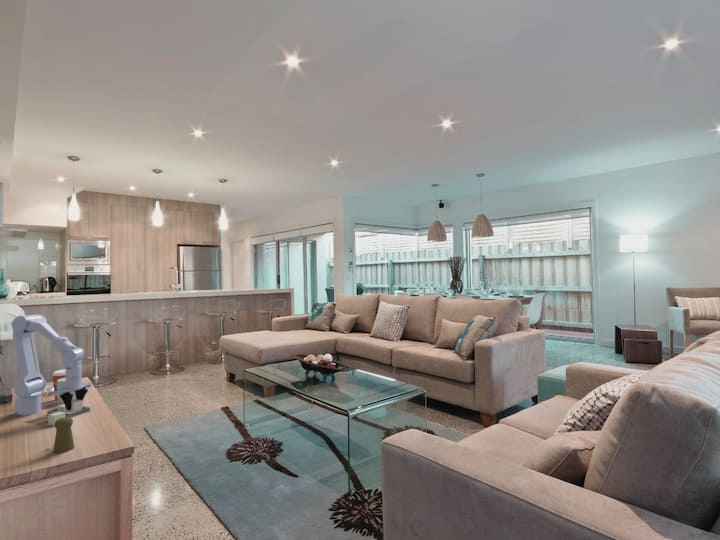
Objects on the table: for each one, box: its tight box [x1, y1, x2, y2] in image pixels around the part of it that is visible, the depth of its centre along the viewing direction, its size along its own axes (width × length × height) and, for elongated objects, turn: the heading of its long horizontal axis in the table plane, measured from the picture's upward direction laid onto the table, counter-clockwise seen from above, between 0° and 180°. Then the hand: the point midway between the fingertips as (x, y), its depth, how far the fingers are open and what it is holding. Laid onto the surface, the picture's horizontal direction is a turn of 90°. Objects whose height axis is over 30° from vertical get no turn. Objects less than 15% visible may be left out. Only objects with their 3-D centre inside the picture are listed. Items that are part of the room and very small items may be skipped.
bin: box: [46, 405, 91, 418], centre depth 173 cm, size 13×9×3 cm
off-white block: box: [47, 411, 65, 427], centre depth 161 cm, size 4×4×4 cm
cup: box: [56, 378, 76, 405], centre depth 189 cm, size 8×8×12 cm
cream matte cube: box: [56, 404, 70, 414], centre depth 174 cm, size 4×4×4 cm
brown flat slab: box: [24, 416, 55, 428], centre depth 163 cm, size 16×7×2 cm, turn 70°
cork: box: [52, 417, 75, 454], centre depth 141 cm, size 6×6×11 cm
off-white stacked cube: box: [67, 399, 84, 413], centre depth 172 cm, size 4×4×4 cm
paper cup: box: [51, 369, 66, 402], centre depth 196 cm, size 8×8×14 cm
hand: (73, 407), depth 172 cm, fingers closed on off-white stacked cube, 4 cm apart
